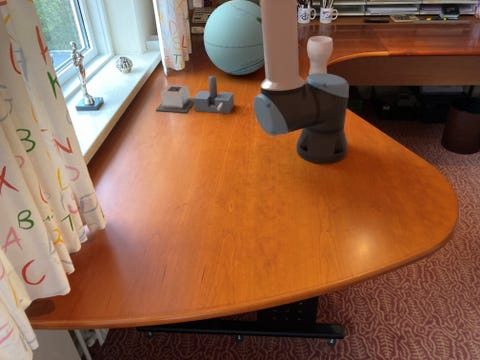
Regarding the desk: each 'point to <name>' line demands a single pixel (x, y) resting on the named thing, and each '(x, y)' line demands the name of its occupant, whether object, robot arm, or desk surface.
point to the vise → (213, 99)
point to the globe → (235, 37)
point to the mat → (177, 109)
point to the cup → (319, 53)
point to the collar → (175, 96)
